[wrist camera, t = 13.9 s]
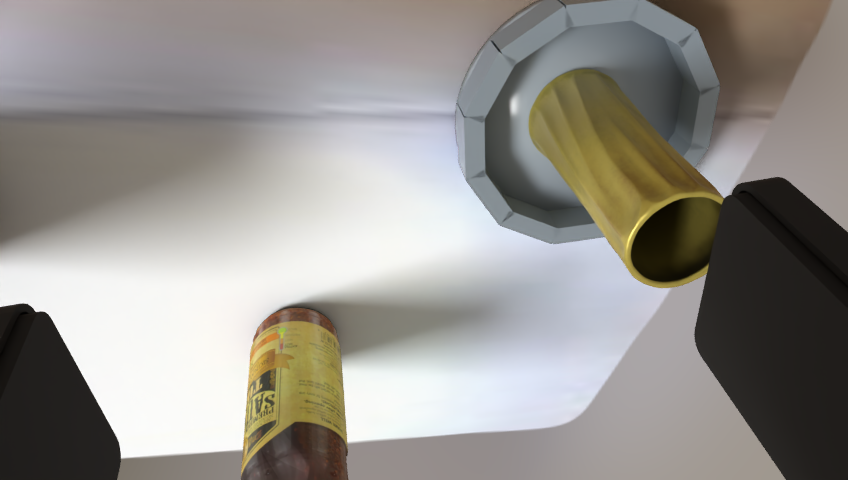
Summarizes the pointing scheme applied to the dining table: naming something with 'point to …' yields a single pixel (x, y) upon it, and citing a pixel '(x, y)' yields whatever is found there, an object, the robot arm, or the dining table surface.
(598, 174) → the vase
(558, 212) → the round tray
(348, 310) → the dining table surface
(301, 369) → the sauce bottle
